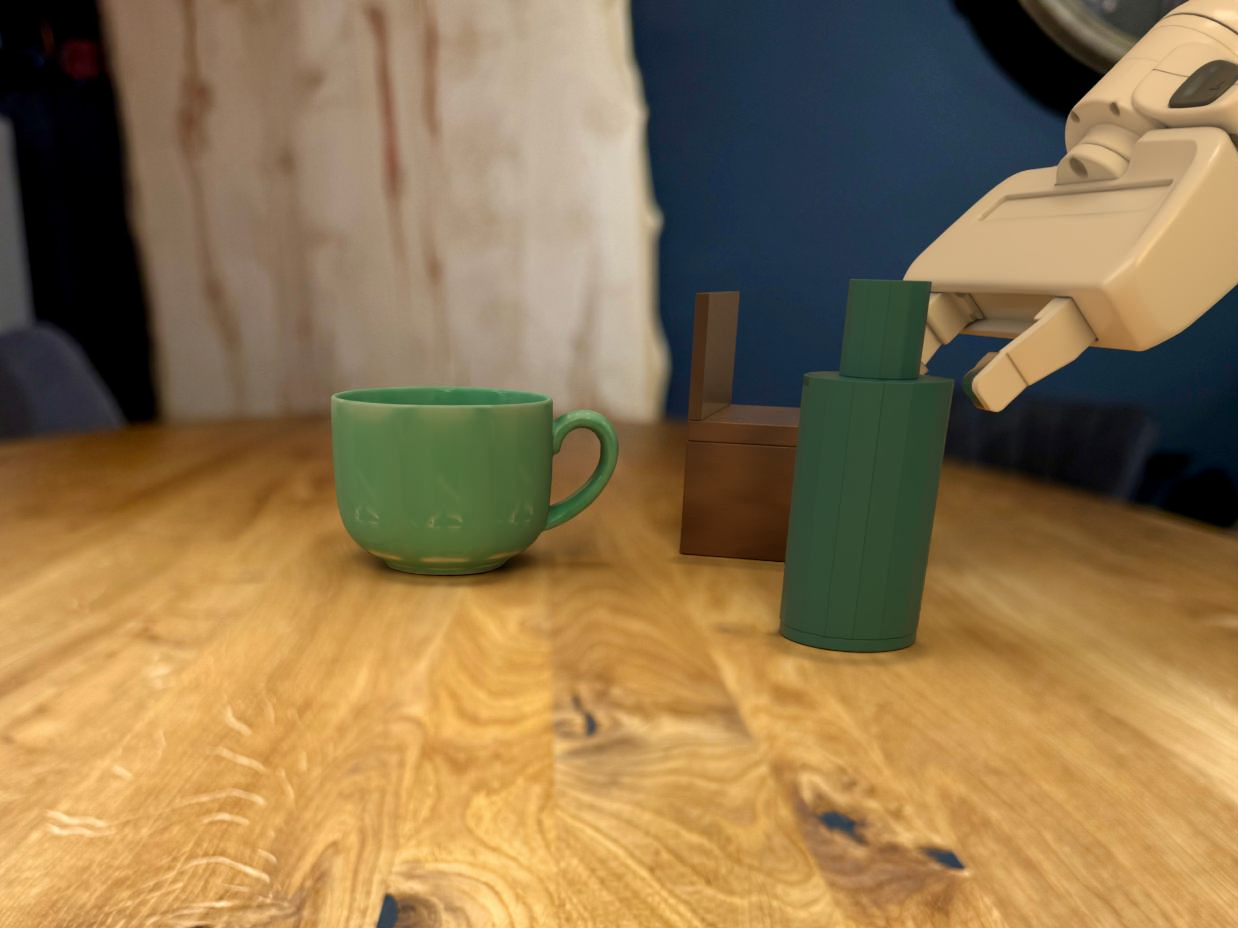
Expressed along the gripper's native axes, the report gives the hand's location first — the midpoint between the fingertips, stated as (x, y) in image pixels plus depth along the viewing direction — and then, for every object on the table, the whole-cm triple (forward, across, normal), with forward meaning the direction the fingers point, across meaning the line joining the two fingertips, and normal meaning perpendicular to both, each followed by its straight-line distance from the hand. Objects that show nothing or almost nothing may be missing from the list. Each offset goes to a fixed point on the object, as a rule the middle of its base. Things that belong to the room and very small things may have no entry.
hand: (927, 390), depth 60 cm
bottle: (+10, 0, +6) cm, 12 cm away
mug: (+21, -19, -5) cm, 29 cm away
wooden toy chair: (+6, -24, +10) cm, 27 cm away
